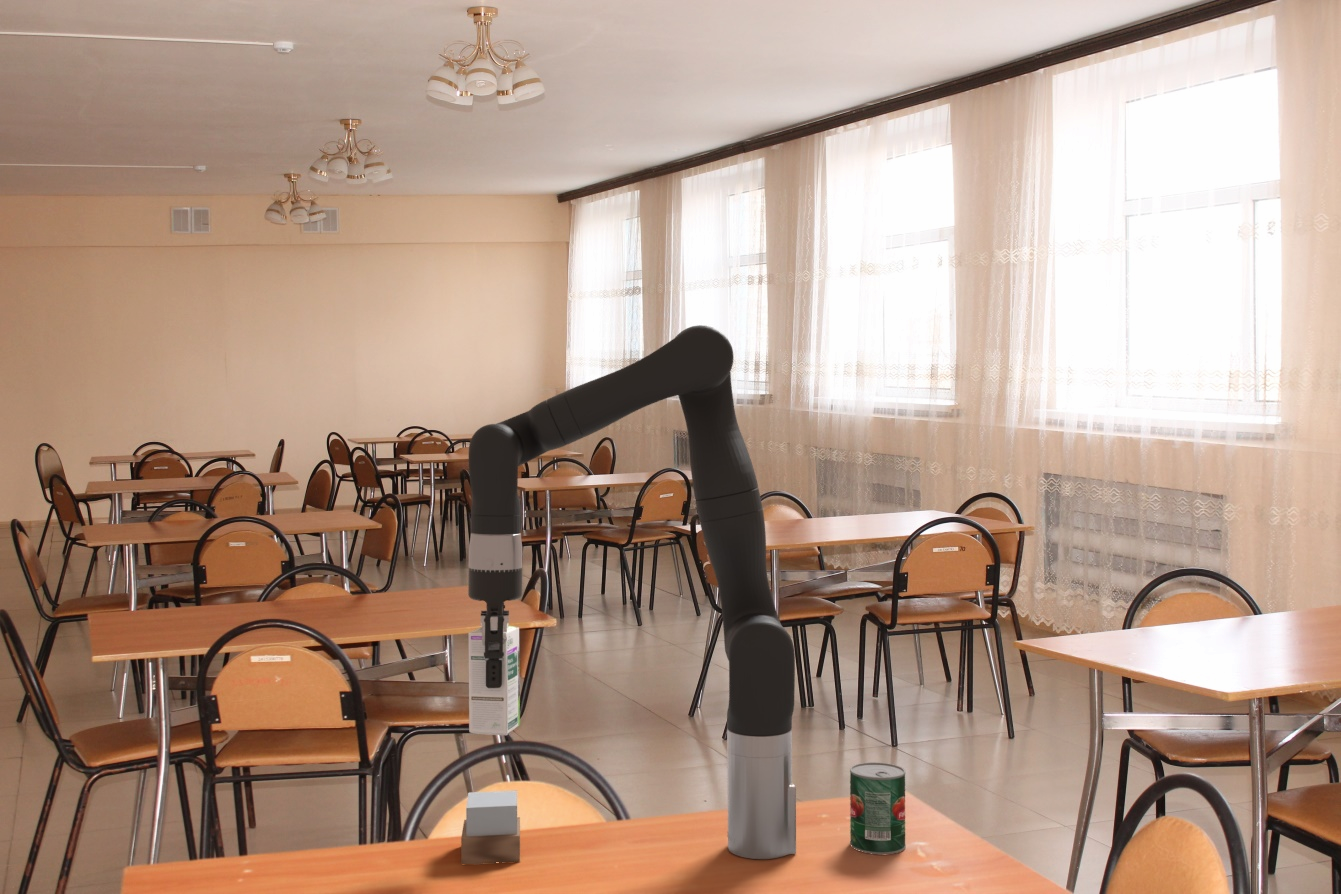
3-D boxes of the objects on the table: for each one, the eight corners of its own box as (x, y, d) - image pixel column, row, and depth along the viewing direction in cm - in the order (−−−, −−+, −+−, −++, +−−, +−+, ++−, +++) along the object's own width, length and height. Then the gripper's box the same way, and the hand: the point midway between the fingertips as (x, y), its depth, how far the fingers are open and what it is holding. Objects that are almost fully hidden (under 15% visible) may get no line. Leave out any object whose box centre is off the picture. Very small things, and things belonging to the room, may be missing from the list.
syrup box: (507, 736, 165) (508, 631, 165) (467, 733, 166) (467, 630, 166) (520, 726, 171) (521, 625, 171) (481, 723, 172) (482, 623, 172)
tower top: (517, 817, 173) (517, 790, 173) (517, 834, 166) (517, 805, 166) (468, 820, 172) (468, 792, 172) (466, 836, 165) (466, 807, 165)
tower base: (520, 844, 174) (519, 817, 173) (519, 864, 166) (519, 835, 165) (464, 847, 173) (464, 819, 172) (461, 867, 165) (461, 838, 165)
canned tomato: (841, 839, 174) (840, 764, 174) (890, 834, 176) (889, 759, 176) (864, 858, 166) (864, 779, 166) (915, 852, 168) (915, 774, 168)
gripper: (522, 570, 162) (521, 692, 162) (522, 559, 176) (520, 671, 176) (466, 571, 161) (465, 693, 161) (470, 559, 175) (469, 672, 175)
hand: (494, 681), depth 169 cm, fingers closed on syrup box, 6 cm apart
